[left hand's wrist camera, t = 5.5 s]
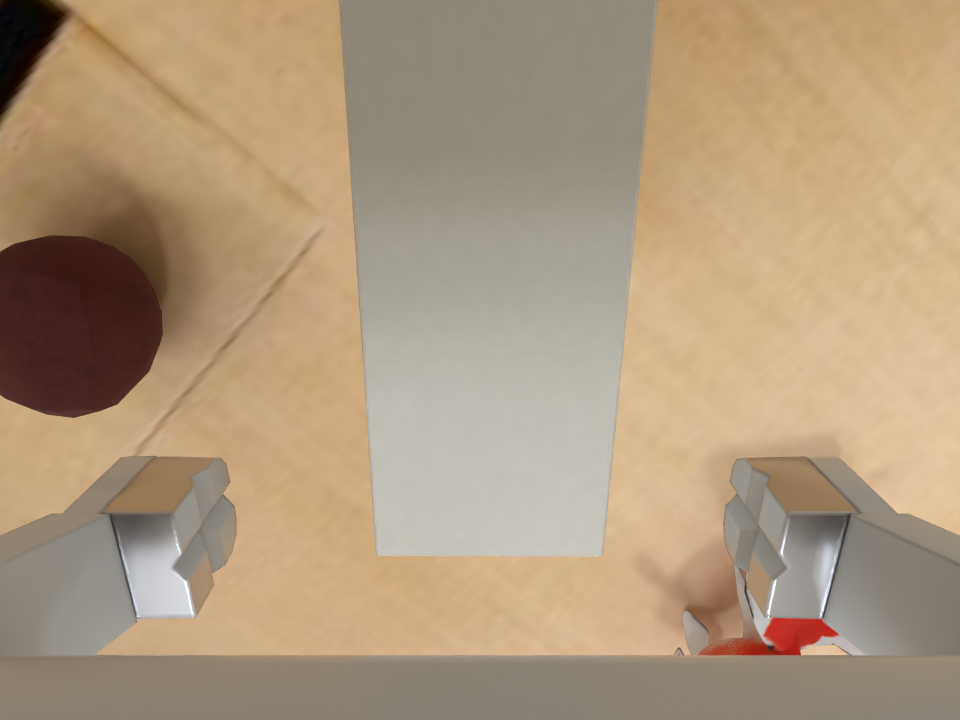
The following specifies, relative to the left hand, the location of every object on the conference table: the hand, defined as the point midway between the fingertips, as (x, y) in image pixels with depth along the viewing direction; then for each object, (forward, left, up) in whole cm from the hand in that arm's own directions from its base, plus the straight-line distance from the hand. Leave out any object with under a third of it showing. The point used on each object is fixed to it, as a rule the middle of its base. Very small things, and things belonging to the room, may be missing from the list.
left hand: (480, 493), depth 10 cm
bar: (-2, +8, -11) cm, 14 cm away
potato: (-16, -7, -20) cm, 27 cm away
